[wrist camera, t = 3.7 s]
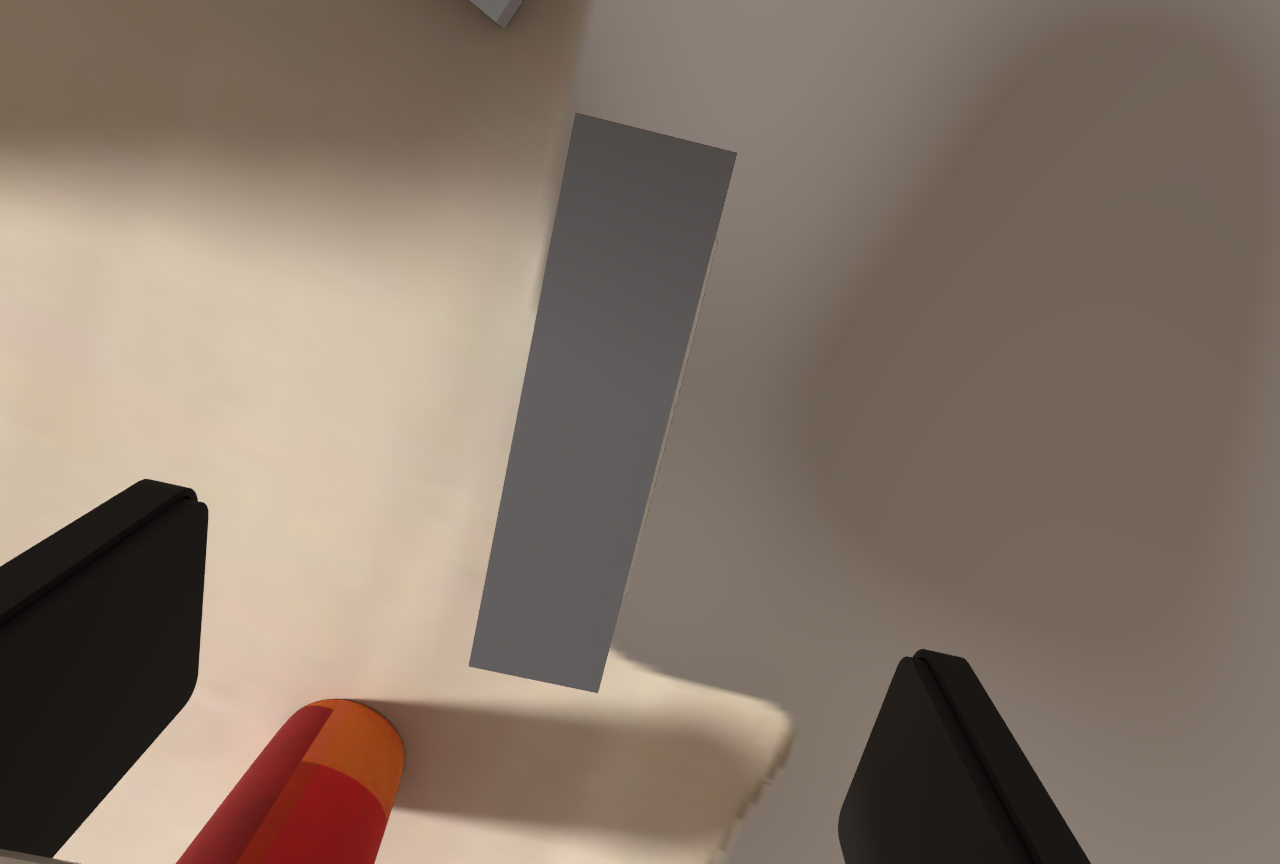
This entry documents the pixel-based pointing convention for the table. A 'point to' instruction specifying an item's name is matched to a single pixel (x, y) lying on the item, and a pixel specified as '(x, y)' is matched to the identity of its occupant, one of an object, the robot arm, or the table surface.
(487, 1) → the picture ledge
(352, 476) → the table surface
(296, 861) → the paper cup
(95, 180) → the table surface
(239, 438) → the table surface
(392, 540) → the table surface
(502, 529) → the picture frame
